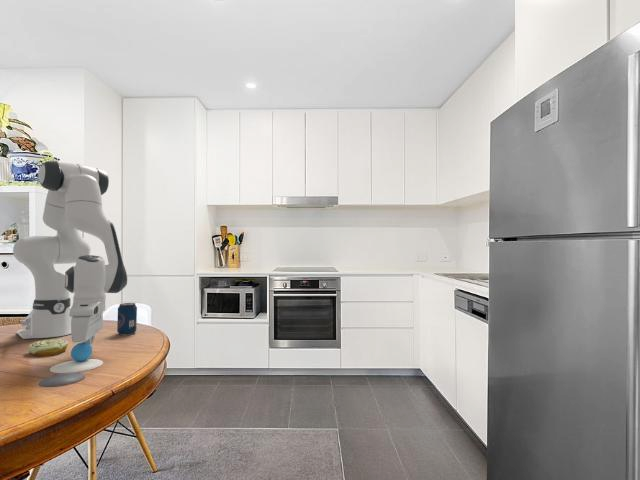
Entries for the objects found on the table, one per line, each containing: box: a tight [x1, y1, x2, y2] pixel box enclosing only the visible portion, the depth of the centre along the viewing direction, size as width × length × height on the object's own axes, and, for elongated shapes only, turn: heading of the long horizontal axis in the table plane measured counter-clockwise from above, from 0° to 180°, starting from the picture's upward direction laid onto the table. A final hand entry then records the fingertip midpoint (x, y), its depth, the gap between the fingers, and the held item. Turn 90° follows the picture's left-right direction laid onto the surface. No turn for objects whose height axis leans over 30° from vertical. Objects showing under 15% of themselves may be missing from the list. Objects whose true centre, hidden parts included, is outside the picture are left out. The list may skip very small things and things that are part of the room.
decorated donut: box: [28, 338, 69, 357], centre depth 123 cm, size 10×11×4 cm
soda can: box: [116, 302, 138, 336], centre depth 152 cm, size 7×7×12 cm
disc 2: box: [49, 358, 104, 374], centre depth 109 cm, size 13×13×1 cm
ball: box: [70, 342, 93, 362], centre depth 114 cm, size 6×6×6 cm
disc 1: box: [38, 372, 86, 388], centre depth 97 cm, size 10×10×1 cm
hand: (88, 349), depth 119 cm, fingers closed
